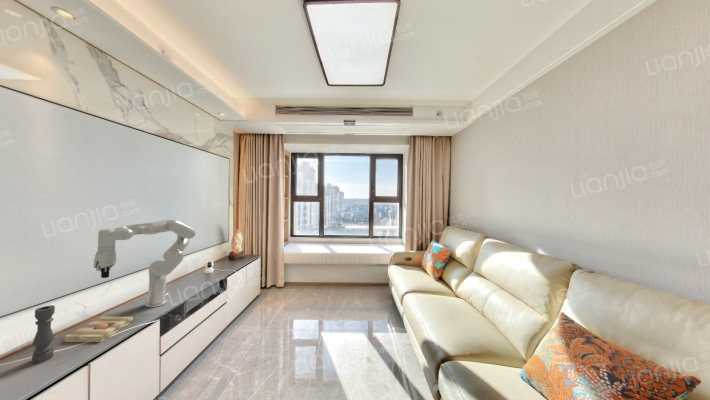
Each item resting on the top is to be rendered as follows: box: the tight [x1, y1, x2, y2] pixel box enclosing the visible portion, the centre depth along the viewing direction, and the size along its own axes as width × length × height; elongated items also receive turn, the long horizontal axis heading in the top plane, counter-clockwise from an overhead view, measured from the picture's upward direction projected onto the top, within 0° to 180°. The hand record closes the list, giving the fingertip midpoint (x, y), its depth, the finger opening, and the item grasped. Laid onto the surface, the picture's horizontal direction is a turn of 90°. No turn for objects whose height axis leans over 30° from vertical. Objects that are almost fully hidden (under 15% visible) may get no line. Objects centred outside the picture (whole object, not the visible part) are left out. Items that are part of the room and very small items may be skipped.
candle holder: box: [31, 305, 56, 365], centre depth 110 cm, size 6×6×25 cm
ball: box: [96, 323, 108, 329], centre depth 133 cm, size 5×5×5 cm
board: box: [64, 316, 134, 343], centre depth 134 cm, size 20×18×3 cm
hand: (105, 277), depth 144 cm, fingers closed
